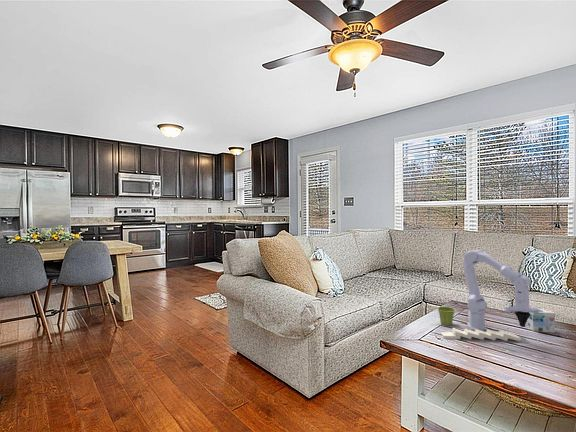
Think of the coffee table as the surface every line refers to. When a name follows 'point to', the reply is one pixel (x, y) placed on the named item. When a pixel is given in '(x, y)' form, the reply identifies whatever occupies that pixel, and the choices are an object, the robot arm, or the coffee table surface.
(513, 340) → the mat
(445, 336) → the domino
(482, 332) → the domino
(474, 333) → the domino
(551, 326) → the light bulb box
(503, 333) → the domino
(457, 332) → the domino
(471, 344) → the coffee table surface
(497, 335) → the domino
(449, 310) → the plant pot
